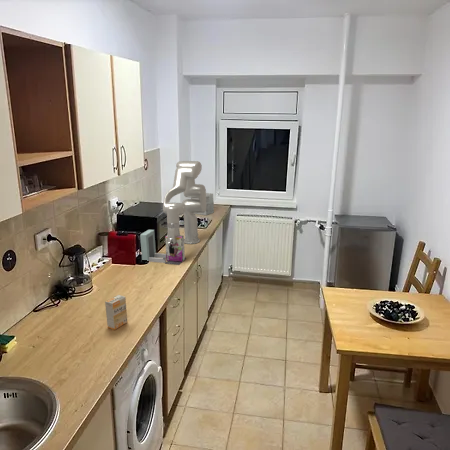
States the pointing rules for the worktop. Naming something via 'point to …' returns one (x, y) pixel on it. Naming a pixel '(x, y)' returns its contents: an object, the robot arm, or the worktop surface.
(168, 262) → the mat
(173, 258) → the candy bar box
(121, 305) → the supplement box
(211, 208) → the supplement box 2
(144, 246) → the dispenser
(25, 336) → the worktop surface
